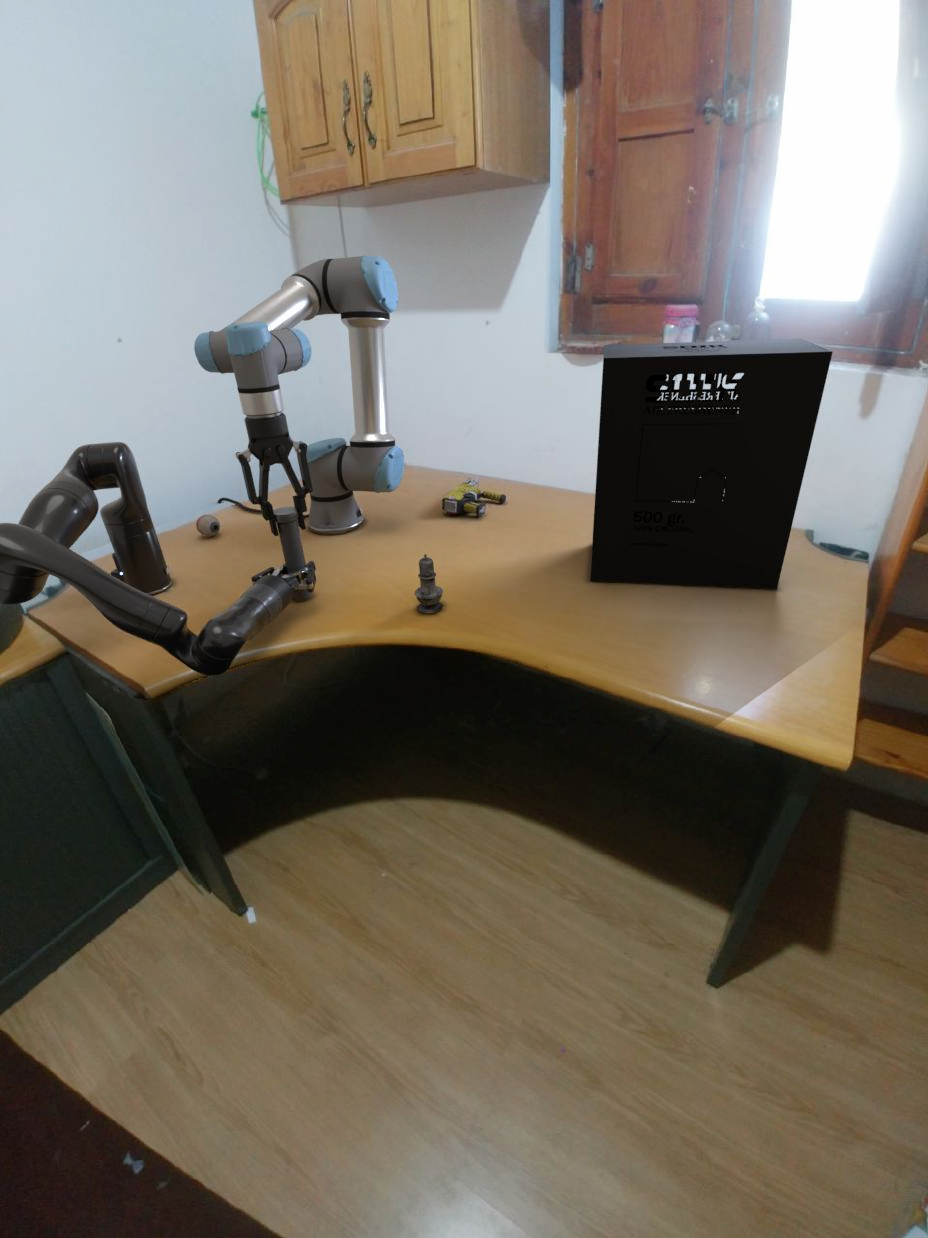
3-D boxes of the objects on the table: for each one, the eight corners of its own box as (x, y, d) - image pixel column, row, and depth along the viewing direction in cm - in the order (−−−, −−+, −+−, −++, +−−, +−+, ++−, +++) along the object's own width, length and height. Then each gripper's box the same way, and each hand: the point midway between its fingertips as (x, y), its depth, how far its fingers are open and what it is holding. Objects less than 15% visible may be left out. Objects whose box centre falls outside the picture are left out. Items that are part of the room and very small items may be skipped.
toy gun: (514, 482, 184) (468, 475, 188) (491, 505, 164) (440, 497, 168) (513, 497, 186) (467, 490, 190) (490, 522, 166) (439, 513, 170)
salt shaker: (440, 614, 122) (436, 560, 116) (412, 613, 123) (406, 559, 117) (447, 600, 127) (443, 548, 121) (420, 599, 128) (414, 547, 122)
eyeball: (209, 541, 163) (203, 520, 160) (195, 537, 166) (188, 517, 163) (227, 533, 168) (222, 513, 165) (213, 530, 171) (207, 510, 168)
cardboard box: (756, 549, 141) (800, 338, 118) (776, 589, 124) (832, 351, 101) (592, 544, 148) (604, 344, 126) (590, 580, 131) (603, 357, 109)
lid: (293, 523, 120) (291, 515, 120) (268, 522, 121) (267, 514, 120) (303, 514, 125) (301, 506, 124) (279, 513, 126) (278, 506, 125)
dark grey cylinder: (291, 595, 133) (273, 512, 124) (310, 591, 134) (293, 509, 125) (294, 603, 130) (276, 518, 120) (313, 599, 131) (297, 515, 122)
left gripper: (293, 586, 113) (330, 549, 128) (226, 582, 116) (269, 547, 131) (301, 620, 117) (335, 581, 132) (235, 616, 120) (276, 578, 135)
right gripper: (305, 404, 119) (324, 515, 131) (210, 418, 112) (240, 535, 123) (317, 409, 114) (336, 526, 125) (218, 425, 106) (249, 547, 118)
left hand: (302, 564), depth 131 cm, fingers closed on dark grey cylinder, 4 cm apart
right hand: (288, 530), depth 124 cm, fingers closed on lid, 5 cm apart
